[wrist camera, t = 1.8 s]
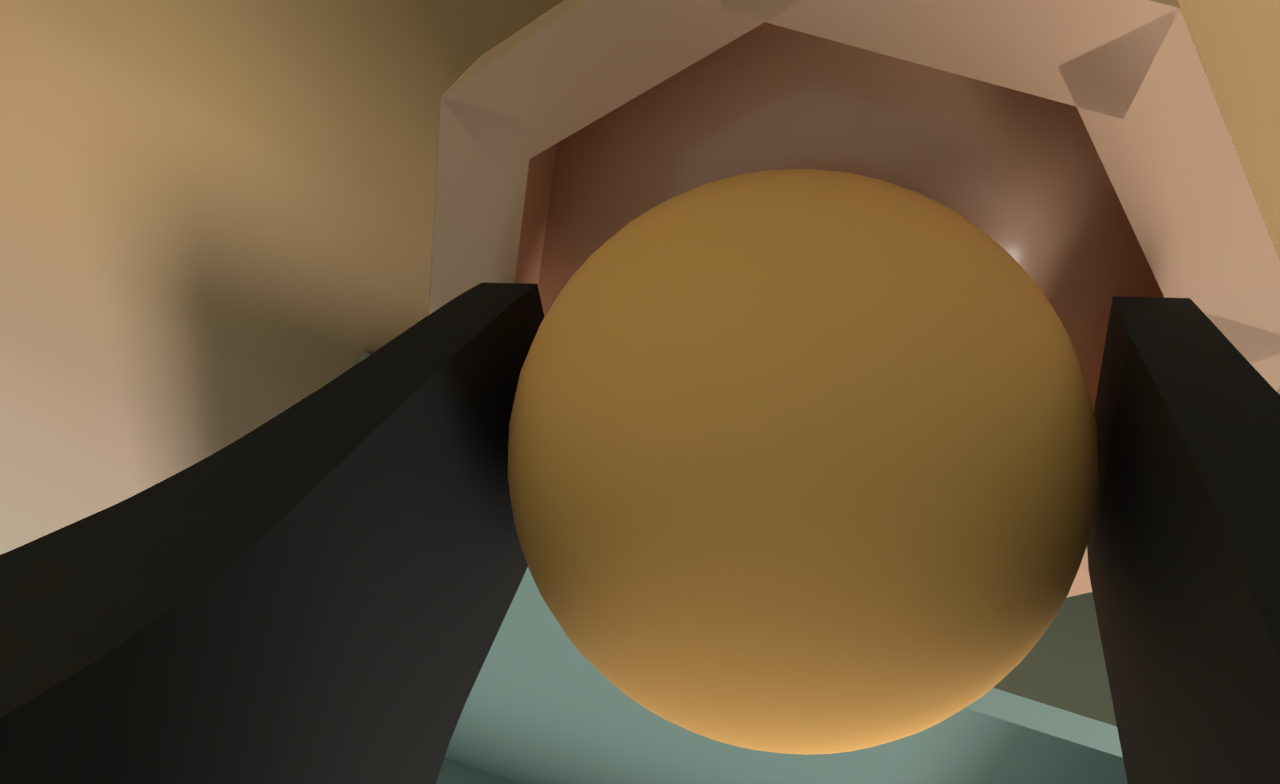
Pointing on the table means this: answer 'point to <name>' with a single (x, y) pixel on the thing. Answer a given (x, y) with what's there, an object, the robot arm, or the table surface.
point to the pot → (869, 142)
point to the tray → (758, 780)
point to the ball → (803, 461)
